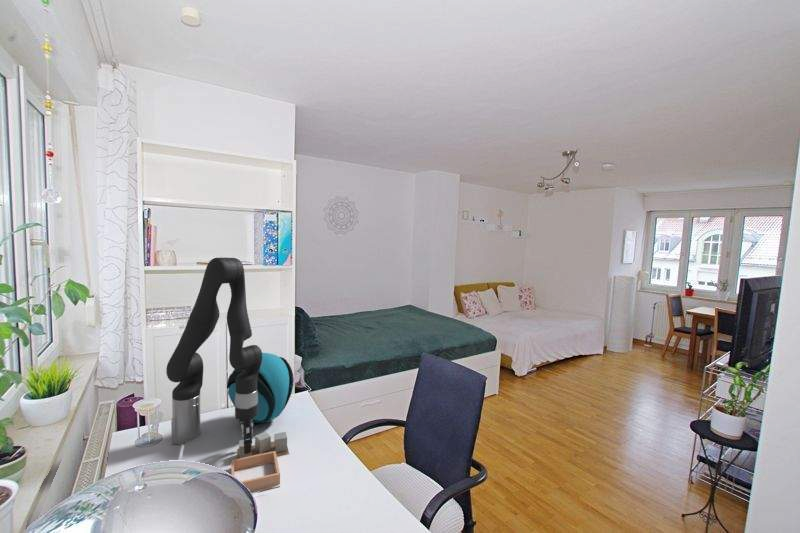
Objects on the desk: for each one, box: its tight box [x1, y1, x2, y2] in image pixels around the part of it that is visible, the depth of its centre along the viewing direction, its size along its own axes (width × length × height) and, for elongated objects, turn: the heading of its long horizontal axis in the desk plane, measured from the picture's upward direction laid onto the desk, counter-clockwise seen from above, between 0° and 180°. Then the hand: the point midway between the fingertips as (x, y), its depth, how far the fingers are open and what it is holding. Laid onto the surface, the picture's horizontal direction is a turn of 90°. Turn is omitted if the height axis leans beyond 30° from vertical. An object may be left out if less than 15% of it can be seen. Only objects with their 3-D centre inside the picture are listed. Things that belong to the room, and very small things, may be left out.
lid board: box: [236, 440, 290, 459], centre depth 130 cm, size 17×10×1 cm, turn 116°
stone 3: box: [273, 431, 288, 453], centre depth 132 cm, size 4×4×5 cm
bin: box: [230, 451, 281, 493], centre depth 116 cm, size 14×13×4 cm
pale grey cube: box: [254, 431, 272, 453], centre depth 131 cm, size 4×4×5 cm
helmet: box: [226, 352, 295, 426], centre depth 149 cm, size 26×24×30 cm
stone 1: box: [238, 439, 253, 458], centre depth 126 cm, size 4×4×5 cm
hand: (247, 446), depth 126 cm, fingers open, 8 cm apart
